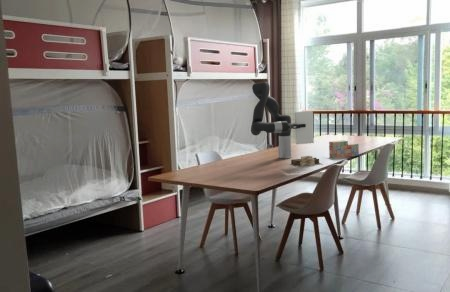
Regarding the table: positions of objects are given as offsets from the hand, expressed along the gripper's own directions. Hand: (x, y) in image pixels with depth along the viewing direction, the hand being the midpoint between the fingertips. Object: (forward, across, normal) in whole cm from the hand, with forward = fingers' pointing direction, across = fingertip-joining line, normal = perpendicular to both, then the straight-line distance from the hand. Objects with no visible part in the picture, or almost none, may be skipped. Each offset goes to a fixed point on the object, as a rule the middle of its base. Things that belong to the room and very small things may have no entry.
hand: (304, 125), depth 298 cm
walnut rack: (0, -3, +28) cm, 28 cm away
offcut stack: (-1, -6, +26) cm, 27 cm away
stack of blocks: (+39, +24, +29) cm, 53 cm away
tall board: (0, 0, +12) cm, 13 cm away
